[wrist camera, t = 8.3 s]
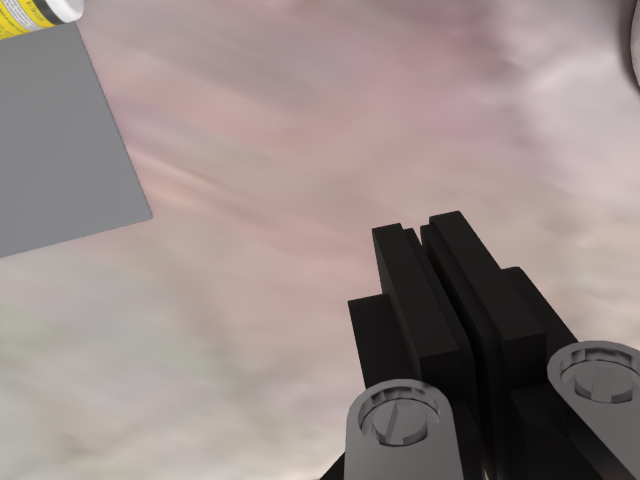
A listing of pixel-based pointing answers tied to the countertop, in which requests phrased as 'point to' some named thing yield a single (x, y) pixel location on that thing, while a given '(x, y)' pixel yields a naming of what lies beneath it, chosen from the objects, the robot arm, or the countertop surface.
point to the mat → (59, 146)
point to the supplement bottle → (36, 15)
